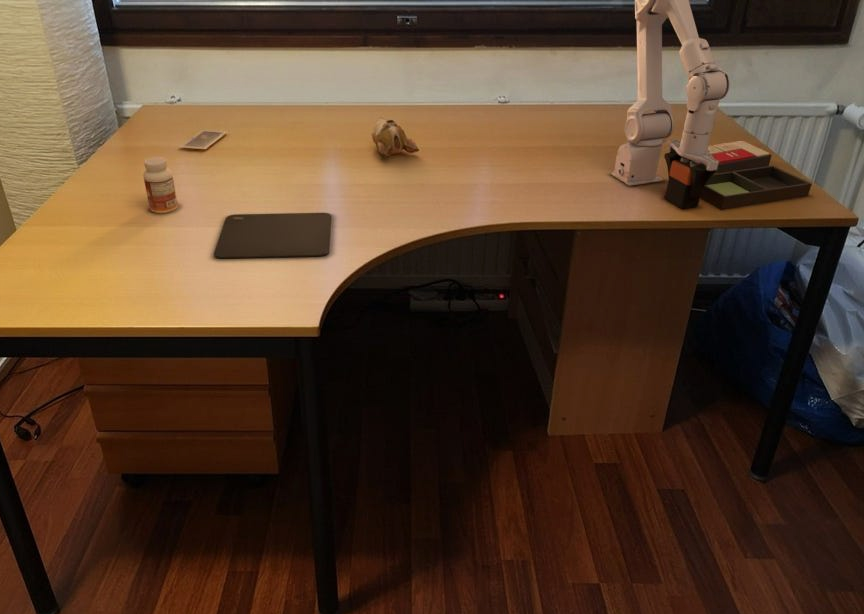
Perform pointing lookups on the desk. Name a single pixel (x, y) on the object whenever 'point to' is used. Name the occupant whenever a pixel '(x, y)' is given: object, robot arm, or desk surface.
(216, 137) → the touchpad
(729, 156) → the red and cream box
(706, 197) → the organizer
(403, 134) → the ceramic sculpture
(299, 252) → the mouse pad
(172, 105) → the desk surface
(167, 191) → the pill bottle
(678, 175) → the battery
